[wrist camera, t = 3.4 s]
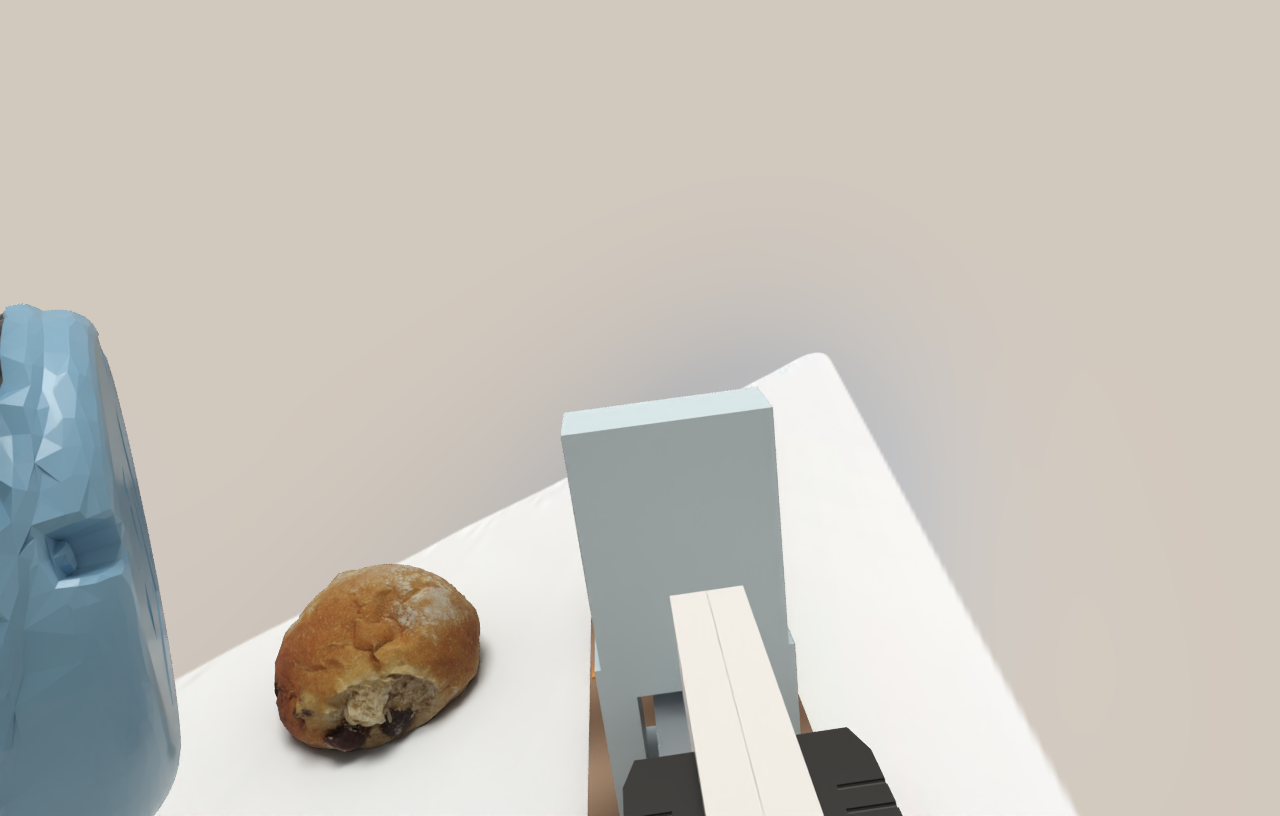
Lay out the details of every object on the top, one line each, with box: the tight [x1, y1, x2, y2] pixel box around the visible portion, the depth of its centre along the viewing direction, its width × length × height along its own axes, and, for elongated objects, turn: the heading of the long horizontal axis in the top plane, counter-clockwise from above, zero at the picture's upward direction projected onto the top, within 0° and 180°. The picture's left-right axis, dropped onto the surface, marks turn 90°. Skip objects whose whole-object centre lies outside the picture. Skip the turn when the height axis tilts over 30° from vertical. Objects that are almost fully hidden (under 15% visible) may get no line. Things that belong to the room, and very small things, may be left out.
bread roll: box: [274, 564, 480, 752], centre depth 36 cm, size 10×10×8 cm
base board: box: [588, 617, 813, 816], centre depth 29 cm, size 28×9×6 cm, turn 3°
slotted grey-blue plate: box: [561, 387, 801, 816], centre depth 24 cm, size 3×6×14 cm, turn 93°
